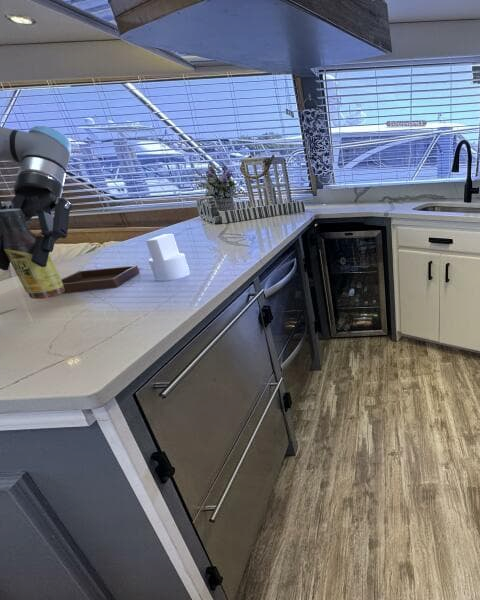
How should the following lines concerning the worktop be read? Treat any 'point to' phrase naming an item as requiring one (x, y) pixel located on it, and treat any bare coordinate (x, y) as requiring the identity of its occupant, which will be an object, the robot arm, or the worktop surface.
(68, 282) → the tray
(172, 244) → the cylinder with rectangular tab
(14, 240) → the sauce bottle
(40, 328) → the worktop surface
